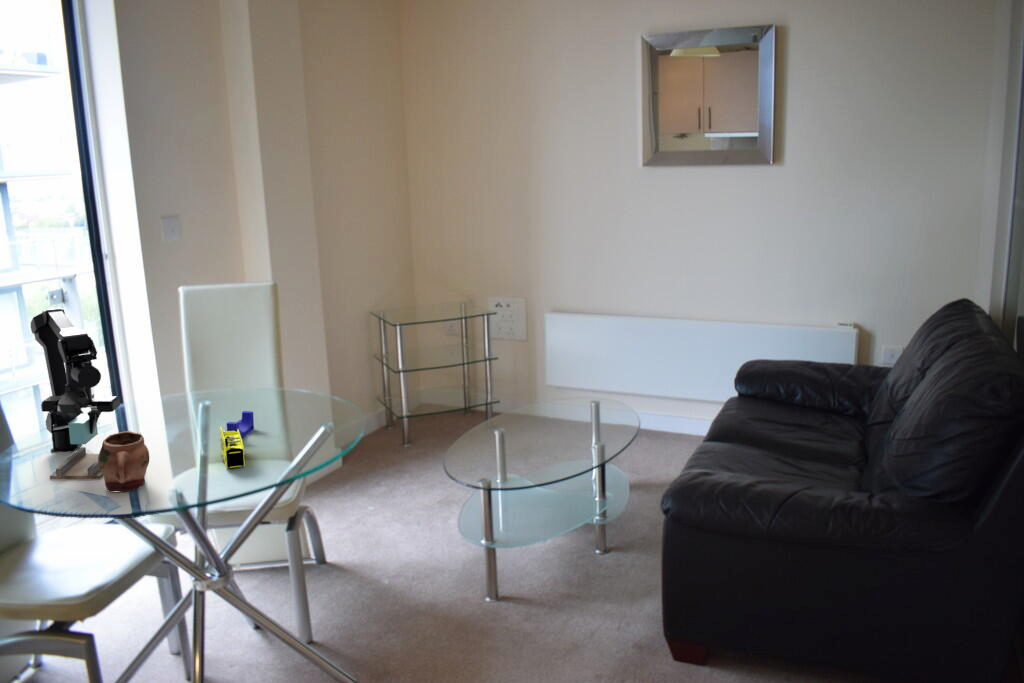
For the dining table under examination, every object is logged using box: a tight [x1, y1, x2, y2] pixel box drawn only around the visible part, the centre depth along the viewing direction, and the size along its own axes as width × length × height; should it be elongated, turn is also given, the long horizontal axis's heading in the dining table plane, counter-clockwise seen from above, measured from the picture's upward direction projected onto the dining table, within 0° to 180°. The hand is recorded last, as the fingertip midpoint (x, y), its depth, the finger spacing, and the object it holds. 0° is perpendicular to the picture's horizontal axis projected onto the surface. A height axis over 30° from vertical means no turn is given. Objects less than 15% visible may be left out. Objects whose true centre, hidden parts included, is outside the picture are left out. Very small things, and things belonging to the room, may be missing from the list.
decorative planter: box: [98, 430, 150, 492], centre depth 226 cm, size 20×12×14 cm, turn 25°
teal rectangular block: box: [68, 412, 99, 445], centre depth 238 cm, size 4×8×6 cm, turn 3°
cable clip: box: [226, 410, 255, 440], centre depth 268 cm, size 12×4×6 cm, turn 172°
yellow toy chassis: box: [219, 426, 246, 469], centre depth 248 cm, size 16×6×8 cm, turn 23°
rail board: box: [49, 446, 104, 480], centre depth 240 cm, size 13×16×3 cm
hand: (83, 433), depth 238 cm, fingers closed on teal rectangular block, 4 cm apart
